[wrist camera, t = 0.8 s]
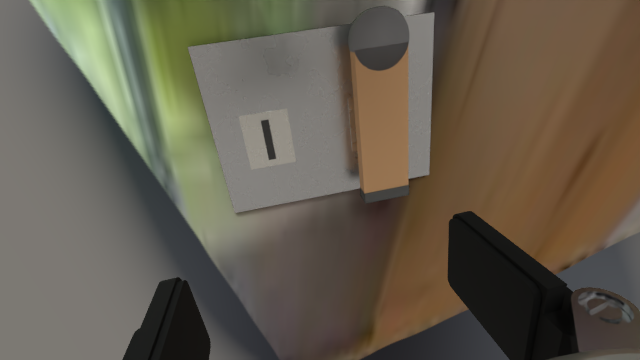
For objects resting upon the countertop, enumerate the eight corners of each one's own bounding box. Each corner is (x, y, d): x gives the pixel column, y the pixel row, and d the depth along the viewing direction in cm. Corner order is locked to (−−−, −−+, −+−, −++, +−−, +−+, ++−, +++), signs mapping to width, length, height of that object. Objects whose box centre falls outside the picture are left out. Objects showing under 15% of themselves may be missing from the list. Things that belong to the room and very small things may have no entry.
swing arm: (345, 11, 28) (350, 10, 27) (401, 4, 29) (410, 2, 27) (359, 196, 37) (364, 203, 35) (403, 187, 37) (409, 194, 36)
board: (189, 46, 30) (182, 48, 27) (430, 12, 33) (446, 11, 30) (235, 209, 38) (233, 223, 35) (426, 172, 41) (438, 182, 38)
